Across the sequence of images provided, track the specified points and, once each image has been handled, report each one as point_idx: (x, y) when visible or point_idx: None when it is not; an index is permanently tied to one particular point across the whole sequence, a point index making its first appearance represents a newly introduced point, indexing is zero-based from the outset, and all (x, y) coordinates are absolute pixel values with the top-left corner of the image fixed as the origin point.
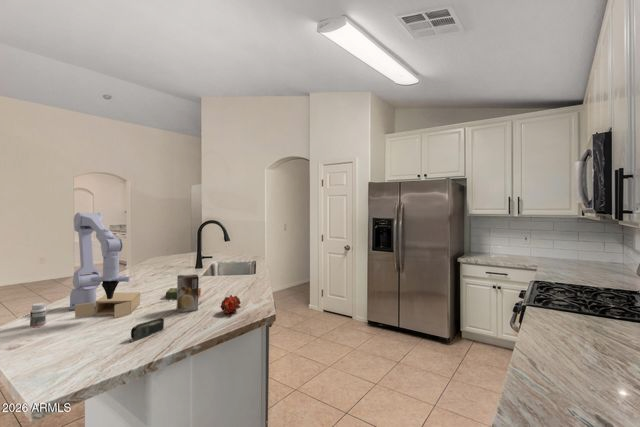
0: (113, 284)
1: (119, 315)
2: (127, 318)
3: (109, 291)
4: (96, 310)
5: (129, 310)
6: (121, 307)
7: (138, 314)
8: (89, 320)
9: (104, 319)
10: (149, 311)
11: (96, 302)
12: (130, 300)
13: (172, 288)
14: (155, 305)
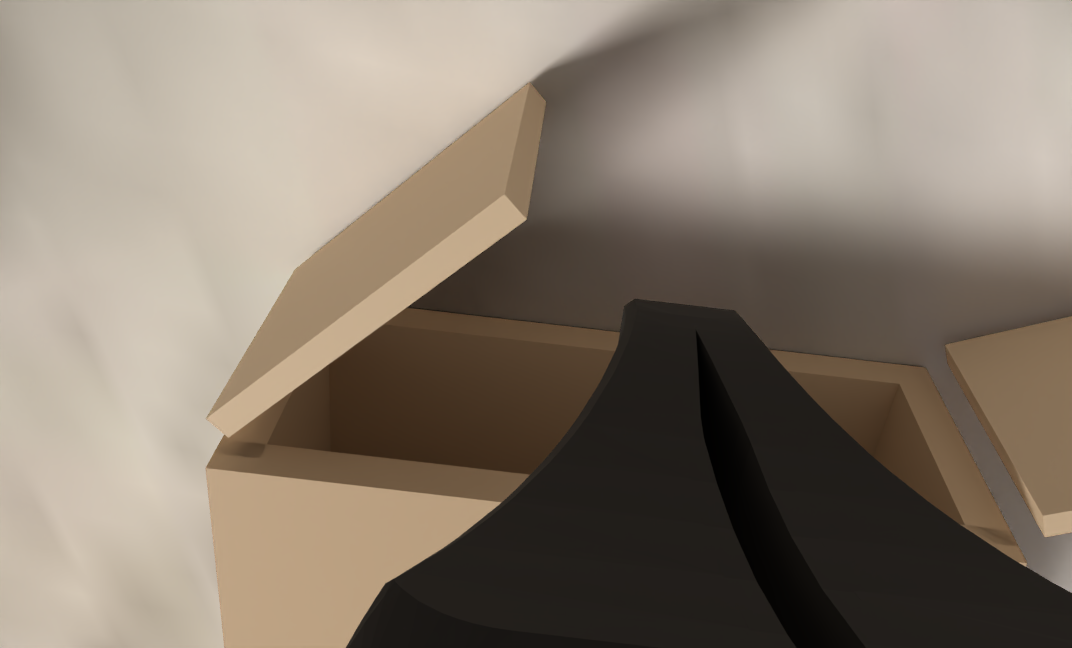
0: (432, 628)
1: (451, 151)
2: (271, 22)
3: (693, 435)
4: (931, 420)
5: (287, 294)
6: (392, 249)
7: (145, 232)
8: (1011, 67)
9: (722, 64)
10: (14, 358)
11: (996, 542)
12: (226, 475)
13: None
14: (54, 618)
